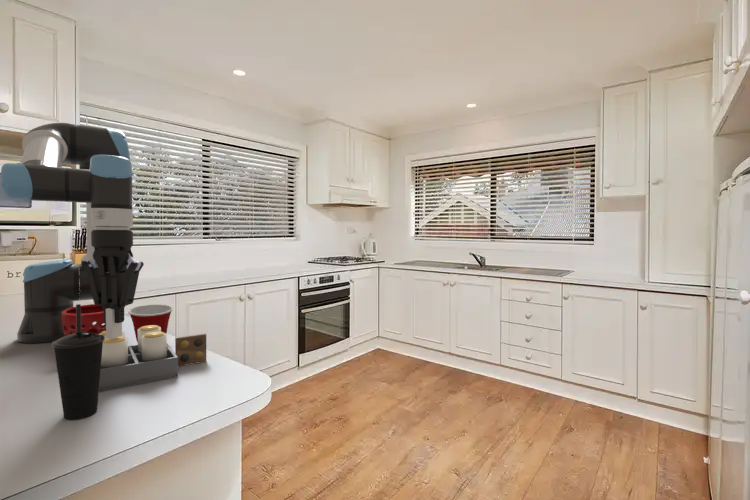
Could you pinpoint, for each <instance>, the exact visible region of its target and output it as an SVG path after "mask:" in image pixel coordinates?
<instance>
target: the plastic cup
mask: <svg viewBox="0 0 750 500" xmlns="http://www.w3.org/2000/svg"><path fill="white" fill-rule="evenodd" d="M173 310H174V307H173V306H172V305H169V304H160V303H159V304H157V303H156V304H144V305H138V306H134V307H132V308H129V309H128V310H127V312H128V314H129V316H130V318H131V321H132V324H133V330H134V334H135V339H136V342H137V344H138V329H139V328H140V327H143V326H148V325H157V326H159V327H161V332H164V333H166V334H167V333H168V327H169V321H170V318H171V315H172V312H173ZM167 335H168V334H167Z"/></svg>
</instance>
